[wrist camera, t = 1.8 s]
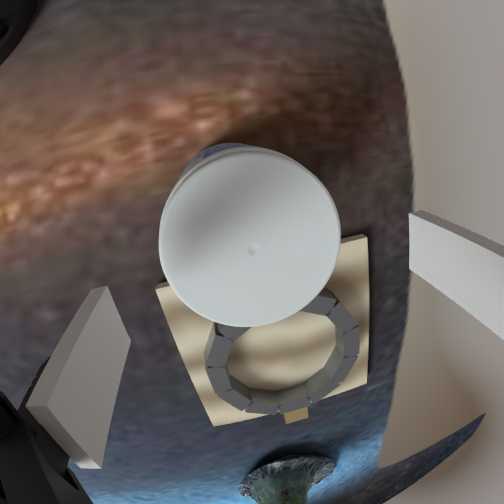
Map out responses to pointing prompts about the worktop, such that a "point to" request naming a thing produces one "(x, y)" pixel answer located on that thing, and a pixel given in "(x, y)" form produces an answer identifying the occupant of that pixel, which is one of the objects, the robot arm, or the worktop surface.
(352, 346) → the ring
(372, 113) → the worktop surface
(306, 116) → the worktop surface
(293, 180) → the supplement tub
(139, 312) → the worktop surface
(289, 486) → the tree stump
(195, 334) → the base plate
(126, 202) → the worktop surface
